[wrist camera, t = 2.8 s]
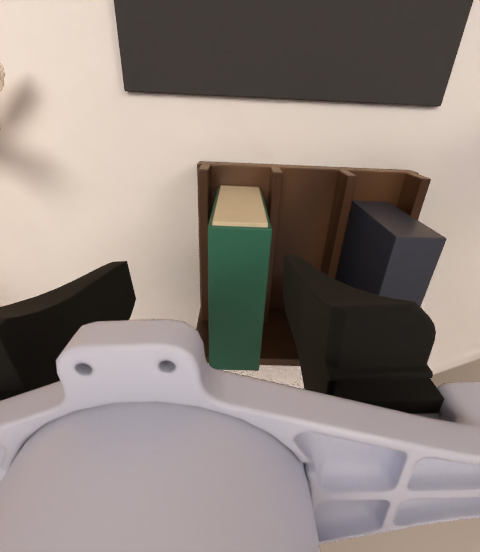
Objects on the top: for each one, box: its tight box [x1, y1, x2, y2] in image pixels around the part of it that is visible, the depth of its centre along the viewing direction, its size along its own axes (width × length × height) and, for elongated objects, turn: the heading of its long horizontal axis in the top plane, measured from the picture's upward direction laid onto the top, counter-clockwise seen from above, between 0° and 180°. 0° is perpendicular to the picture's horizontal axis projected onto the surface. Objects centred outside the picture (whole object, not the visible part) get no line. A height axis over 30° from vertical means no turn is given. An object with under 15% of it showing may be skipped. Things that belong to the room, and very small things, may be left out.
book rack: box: [196, 161, 431, 366], centre depth 21 cm, size 15×12×7 cm
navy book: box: [335, 200, 446, 306], centre depth 21 cm, size 3×8×7 cm, turn 178°
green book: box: [208, 185, 272, 371], centre depth 20 cm, size 3×9×8 cm, turn 178°
